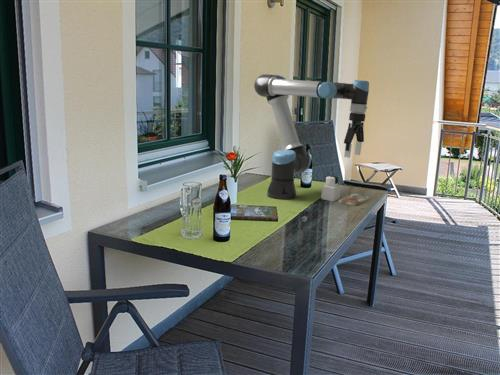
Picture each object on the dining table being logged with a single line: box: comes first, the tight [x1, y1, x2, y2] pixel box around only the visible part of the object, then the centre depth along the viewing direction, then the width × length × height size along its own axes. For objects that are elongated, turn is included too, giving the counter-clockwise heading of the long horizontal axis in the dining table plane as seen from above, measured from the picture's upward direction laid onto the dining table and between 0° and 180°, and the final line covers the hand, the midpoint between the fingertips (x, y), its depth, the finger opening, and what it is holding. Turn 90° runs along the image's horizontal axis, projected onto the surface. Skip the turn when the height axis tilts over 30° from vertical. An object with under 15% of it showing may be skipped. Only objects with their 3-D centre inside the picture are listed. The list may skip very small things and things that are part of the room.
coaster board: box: [337, 193, 370, 207], centre depth 253 cm, size 9×20×2 cm, turn 147°
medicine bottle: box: [320, 175, 341, 202], centre depth 253 cm, size 7×7×12 cm
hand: (352, 155), depth 244 cm, fingers open, 13 cm apart
